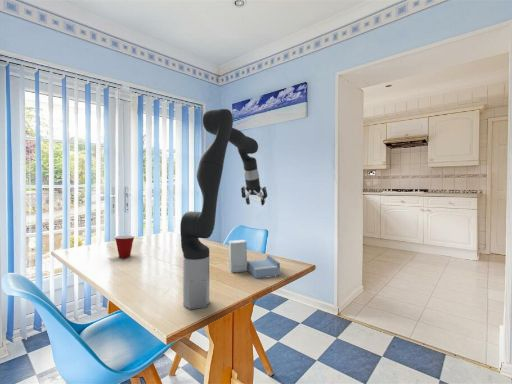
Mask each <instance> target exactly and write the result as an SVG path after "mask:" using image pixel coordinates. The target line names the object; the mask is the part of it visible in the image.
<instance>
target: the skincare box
mask: <svg viewBox="0 0 512 384" xmlns="http://www.w3.org/2000/svg"><path fill="white" fill-rule="evenodd" d="M247 246H248V243H247V241H246V240H245V239H238V240H237V239H236V240H235V239H233V240H228V259H229V261H228V263H229V266H228V267H229V270H230V272H231V273H232V272H233V273H239V272H240V273H242V272H247V271H248V269H247V261H248V255H247V254H248V251H247V250H248V247H247ZM231 273H230V274H231Z"/></svg>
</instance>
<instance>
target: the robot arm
mask: <svg viewBox="0 0 512 384" xmlns="http://www.w3.org/2000/svg"><path fill="white" fill-rule="evenodd" d="M202 125H203V128H204V130H205V131H207V133H209V134H211V135H215V138H214V140H213V141H212V143H211V144H210V145H209V146H208V148H206V150H205V151H204V152H203V154H202V155H201V156H200V159H199V162H198V165H197V171H196V180H197V184H198V186H199V189H200V192H201V194H202V209H201V211H192V210H191V211H186V212H184V213H183V215H182V216H181V219H180V229H179V230H180V246H181V251H182V256H183V257H182V259H183V261H182V263H183V265H182V266H183V267H182V270H183V273H182V274H183V277H182V278H183V284H182V286H183V287H182V290H183V291H182V293H183V299H182V300H183V302H182V303H183V306H184V307H185V308H187V309H188V310H196V309H203V308H207V307H208V305H209V303H210V248H209V247H208V246H207V245H206V244H204V243H202V241H200V239H208V238H210V237H211V236H212V234H213V233H214V230H215V225H216V214H217V205H218V203H217V202H218V196H219V189H220V185H221V180H222V175H223V170H224V169H223V168H224V164H225V157H226V152H227V147H228V144H229V143H230V144H232V145H233V146H234V147H235V148H237V151H238V154H239V157H240V158H241V161H242V164H243V165H242V166H243V172H244V180H245V185H243V186H242V187H241V189H240V190H241V198H244V200H245V204H246V205H247V206H248V205H250V197H249V196H250V195H251V196H258V197H259V199H260V204H261V206H264V205H265V203H266V202H265V199H266V198H268V191H267V187H266V186H263V187H261V183H260V174H259V170H258V163H257V162H258V161H257V158H255V157H252V156H249V155H251V154H253V155H254V154H256V153H257V152H258V150H259V144H258V142H257V141H256V139H254V138H252V137H250V136H247V135H245V134H244V133H243V132H242V131H241V130H239V129H237V128H235V127H233V125H234V118H233V113H232V112H231V110H230V109H228V108H220V109H211V110H207V111H205V112H204V114H203V116H202ZM246 191H247V193H246Z"/></svg>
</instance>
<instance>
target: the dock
mask: <svg viewBox="0 0 512 384" xmlns="http://www.w3.org/2000/svg"><path fill="white" fill-rule="evenodd" d="M280 264H281V263H280V262H279V261H277V260H276V259H275V258H273V257H272V256H271V255H269V254H267V255H266V259H265V258H264V259H255V260H247V271H248V270H249V271H248V272H249V273H250V274H251V275H252V277H254V279H261V277H265V278H268V277H267V276H274V277H276V276H275V275H280V273H281V271H280V269H281V268H280V267H281V265H280Z"/></svg>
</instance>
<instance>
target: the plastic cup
mask: <svg viewBox="0 0 512 384" xmlns="http://www.w3.org/2000/svg"><path fill="white" fill-rule="evenodd" d="M135 238H136V236H135V235H130V234H129V235H128V234H126V235H117V236H114V239H115V243H116V249H117V253H118V257H119V258H121V259H124V258H129V257H130V256H131V254H132V248H133V243H134V239H135Z"/></svg>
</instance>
